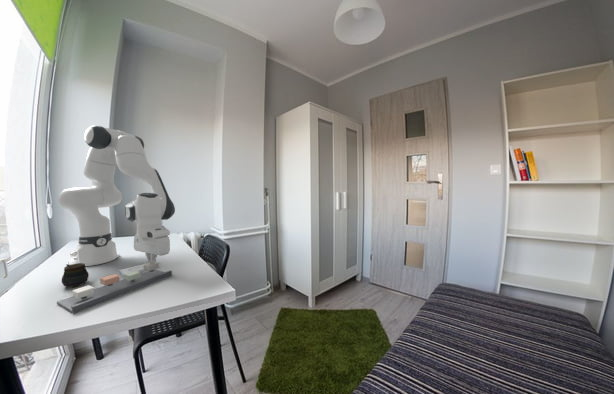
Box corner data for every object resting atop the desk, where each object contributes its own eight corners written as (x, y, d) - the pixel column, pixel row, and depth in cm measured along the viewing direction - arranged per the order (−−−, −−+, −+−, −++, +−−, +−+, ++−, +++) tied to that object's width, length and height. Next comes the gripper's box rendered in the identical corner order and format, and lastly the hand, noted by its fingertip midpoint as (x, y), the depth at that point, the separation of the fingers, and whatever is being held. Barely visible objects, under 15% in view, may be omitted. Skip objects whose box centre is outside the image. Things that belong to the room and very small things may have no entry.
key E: (100, 286, 76) (99, 278, 76) (114, 282, 80) (113, 273, 80) (105, 288, 74) (105, 280, 74) (119, 284, 78) (119, 275, 78)
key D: (123, 282, 83) (123, 274, 82) (135, 278, 86) (135, 270, 86) (129, 284, 81) (128, 276, 81) (141, 279, 84) (140, 272, 84)
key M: (143, 272, 89) (143, 264, 89) (154, 268, 92) (153, 261, 92) (149, 273, 87) (148, 266, 87) (159, 270, 91) (159, 263, 91)
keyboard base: (56, 303, 70) (56, 297, 69) (154, 270, 97) (154, 266, 97) (73, 313, 64) (72, 307, 64) (171, 275, 91) (171, 270, 91)
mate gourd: (92, 279, 88) (91, 256, 88) (84, 286, 82) (83, 262, 81) (67, 283, 85) (66, 259, 84) (57, 291, 78) (55, 265, 77)
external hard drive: (157, 268, 101) (123, 277, 91) (151, 264, 106) (119, 272, 96) (157, 265, 100) (123, 274, 91) (151, 261, 106) (119, 269, 96)
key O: (73, 299, 70) (72, 290, 70) (89, 294, 73) (88, 285, 73) (78, 302, 68) (77, 292, 68) (94, 296, 72) (94, 287, 72)
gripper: (128, 230, 90) (130, 261, 91) (156, 234, 82) (158, 269, 82) (144, 227, 96) (146, 257, 97) (172, 231, 87) (173, 263, 88)
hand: (151, 262), depth 90 cm, fingers closed
